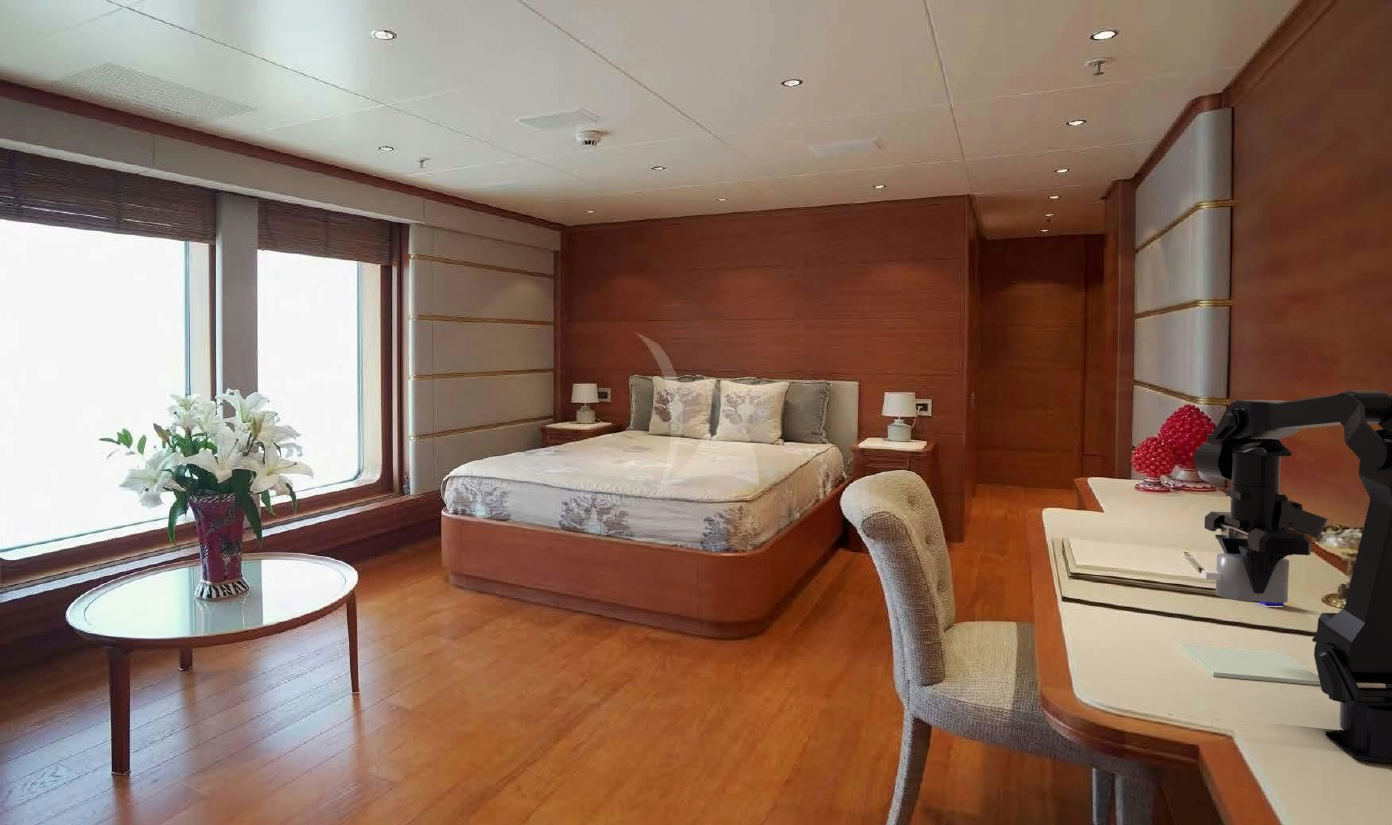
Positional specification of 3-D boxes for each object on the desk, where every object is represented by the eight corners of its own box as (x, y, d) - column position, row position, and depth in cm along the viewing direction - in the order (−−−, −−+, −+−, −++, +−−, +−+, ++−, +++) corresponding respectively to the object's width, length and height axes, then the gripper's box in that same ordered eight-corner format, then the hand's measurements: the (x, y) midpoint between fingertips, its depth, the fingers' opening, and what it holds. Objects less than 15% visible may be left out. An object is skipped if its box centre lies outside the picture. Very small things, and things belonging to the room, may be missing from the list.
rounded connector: (1293, 603, 109) (1294, 562, 109) (1208, 598, 111) (1210, 557, 111) (1278, 595, 113) (1280, 556, 112) (1197, 590, 115) (1198, 551, 115)
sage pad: (1327, 685, 105) (1327, 681, 105) (1213, 676, 108) (1213, 672, 108) (1281, 655, 116) (1281, 651, 116) (1180, 647, 120) (1180, 643, 120)
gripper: (1358, 496, 100) (1354, 612, 101) (1284, 478, 118) (1280, 577, 119) (1263, 492, 103) (1258, 605, 103) (1204, 476, 121) (1201, 572, 122)
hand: (1251, 589), depth 112 cm, fingers closed on rounded connector, 4 cm apart
